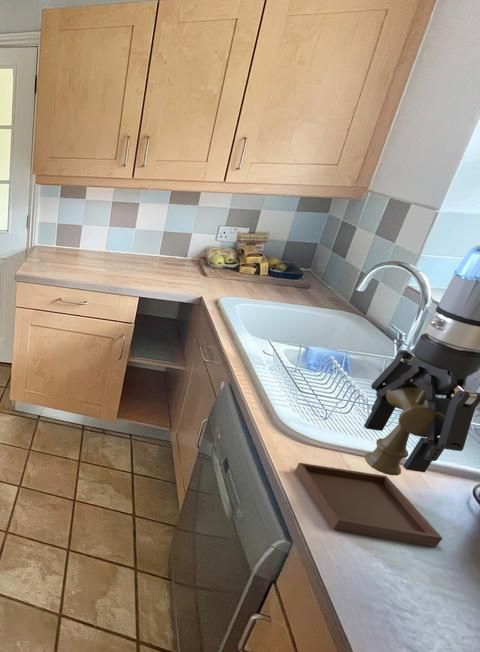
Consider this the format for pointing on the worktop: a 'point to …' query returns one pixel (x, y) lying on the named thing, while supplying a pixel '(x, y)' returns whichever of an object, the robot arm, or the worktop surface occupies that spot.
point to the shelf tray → (366, 505)
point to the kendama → (402, 429)
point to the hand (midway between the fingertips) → (391, 447)
